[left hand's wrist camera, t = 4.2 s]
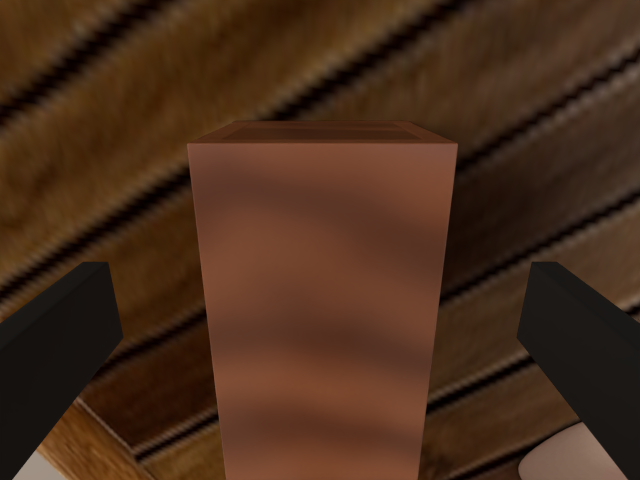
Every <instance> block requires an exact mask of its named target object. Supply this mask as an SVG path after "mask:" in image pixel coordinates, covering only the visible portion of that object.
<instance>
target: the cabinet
mask: <svg viewBox="0 0 640 480" xmlns="http://www.w3.org/2000/svg"><path fill="white" fill-rule="evenodd" d="M187 149H188V158H189V166H190V175H191V183H192V192H193V200H194V209H195V217H196V226H197V234H198V243H199V252H200V260H201V269H202V277H203V286H204V294H205V303H206V311H207V320H208V328H209V337H210V345H211V354H212V362H213V371H214V379H215V388H216V396H217V405H218V413H219V422H220V430H221V439H222V448H223V456H224V465H225V473H226V480H417V479H418V471H419V463H420V455H421V447H422V438H423V430H424V422H425V414H426V405H427V397H428V389H429V381H430V372H431V364H432V356H433V348H434V340H435V331H436V323H437V315H438V307H439V298H440V290H441V282H442V274H443V266H444V257H445V249H446V241H447V233H448V224H449V216H450V208H451V200H452V191H453V183H454V175H455V167H456V159H457V150H458V143H456V142H453V141H451V140H448V139H446V138H444V137H442V136H439V135H437V134H435V133H433V132H430V131H428V130H426V129H424V128H421V127H419V126H417V125H415V124H412V122H410V121H234V122H232V124H229V125H227V126H225V127H223V128H221V129H218V130H216V131H214V132H212V133H210V134H208V135H205V136H203V137H201V138H199V139H197V140H194V141H192V142H190V143H187Z"/></svg>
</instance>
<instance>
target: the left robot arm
mask: <svg viewBox="0 0 640 480" xmlns="http://www.w3.org/2000/svg"><path fill="white" fill-rule="evenodd" d="M122 339H123V333H122V328H121V323H120V318H119V313H118V308H117V303H116V299H115V294H114V289H113V284H112V279H111V274H110V269H109V264H108V262H82V263H81V264H80V265H78V266H77V267H76V268H74V269H73V270H72V271H70V272H69V273H68V274H66V275H65V276H64V277H62V278H61V279H60V280H58V281H57V282H56V283H54V284H53V285H51V286H50V287H49V288H47V289H46V290H45V291H43V292H42V293H41V294H39V295H38V296H37V297H35V298H34V299H33V300H31V301H30V302H29V303H27V304H26V305H25V306H23V307H22V308H20V309H19V310H18V311H16V312H15V313H14V314H12V315H11V316H10V317H8V318H7V319H6V320H4V321H3V322H2V323H0V480H12V479H13V478H14V477H15V475H16V474H17V473H18V472H19V470H20V469H21V468H22V467H23V465H24V464H25V463H26V461H27V460H28V459H29V458H30V456H31V455H32V454H33V452H34V451H35V450H36V449H37V447H38V446H39V445H40V443H41V442H42V441H43V440H44V438H45V437H46V436H47V435H48V433H49V432H50V431H51V429H52V428H53V427H54V426H55V424H56V423H57V422H58V420H59V419H60V418H61V417H62V415H63V414H64V413H65V412H66V410H67V409H68V408H69V406H70V405H71V404H72V403H73V401H74V400H75V399H76V397H77V396H78V395H79V394H80V392H81V391H82V390H83V389H84V387H85V386H86V385H87V383H88V382H89V381H90V380H91V378H92V377H93V376H94V374H95V373H96V372H97V371H98V369H99V368H100V367H101V365H102V364H103V363H104V362H105V360H106V359H107V358H108V357H109V355H110V354H111V353H112V351H113V350H114V349H115V348H116V346H117V345H118V344H119V342H120V341H121V340H122ZM517 339H518V340H519V341H520V342H521V344H522V345H523V346H524V348H525V349H526V350H527V351H528V353H529V354H530V355H531V357H532V358H533V359H534V360H535V362H536V363H537V364H538V366H539V367H540V368H541V369H542V371H543V372H544V373H545V374H546V376H547V377H548V378H549V380H550V381H551V382H552V383H553V385H554V386H555V387H556V389H557V390H558V391H559V392H560V394H561V395H562V396H563V397H564V399H565V400H566V401H567V403H568V404H569V405H570V406H571V408H572V409H573V410H574V412H575V413H576V414H577V415H578V417H579V418H580V419H581V420H582V422H583V423H584V424H585V426H586V427H587V428H588V429H589V431H590V432H591V433H592V435H593V436H594V437H595V438H596V440H597V441H598V442H599V443H600V445H601V446H602V447H603V449H604V450H605V451H606V452H607V454H608V455H609V456H610V458H611V459H612V460H613V461H614V463H615V464H616V465H617V467H618V468H619V469H620V470H621V472H622V473H623V474H624V475H625V477H626V478H627V479H628V480H640V323H638V322H637V321H636V320H634V319H633V318H632V317H630V316H629V315H628V314H626V313H625V312H624V311H622V310H621V309H620V308H618V307H617V306H615V305H614V304H613V303H611V302H610V301H609V300H607V299H606V298H605V297H603V296H602V295H601V294H599V293H598V292H597V291H595V290H594V289H593V288H591V287H590V286H589V285H587V284H586V283H584V282H583V281H582V280H580V279H579V278H578V277H576V276H575V275H574V274H572V273H571V272H570V271H568V270H567V269H566V268H564V267H563V266H562V265H560V264H559V263H558V262H532V264H531V269H530V274H529V279H528V284H527V289H526V294H525V299H524V303H523V308H522V313H521V318H520V323H519V328H518V333H517Z"/></svg>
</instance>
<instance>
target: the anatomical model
mask: <svg viewBox="0 0 640 480" xmlns="http://www.w3.org/2000/svg"><path fill="white" fill-rule="evenodd" d="M518 470H519V475H520V477H521V479H522V480H628V479H627V478H626V477H625V475H624V474H623V473H622V472H621V470H620V469H619V468H618V467H617V465H616V464H615V463H614V461H613V460H612V459H611V458H610V456H609V455H608V454H607V452H606V451H605V450H604V449H603V447H602V446H601V445H600V443H599V442H598V441H597V440H596V438H595V437H594V436H593V435H592V433H591V432H590V431H589V429H588V428H587V427H586V426H585V424H584V423H583V422H581V423H578V424H575V425H573V426H571V427H569V428H567V429H565V430H563V431H561V432H559V433H557V434H555V435H554V436H552V437H551V438H549V439H547V440H546V441H544V442H543V443H541V444H540V445H538V446H537V447H536V448H534V449H533V450H532V451H531V452H529V453H528V454H527V455H526V456H525V457H524V458H523V459H522V460H521V462H520V464H519V468H518Z"/></svg>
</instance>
